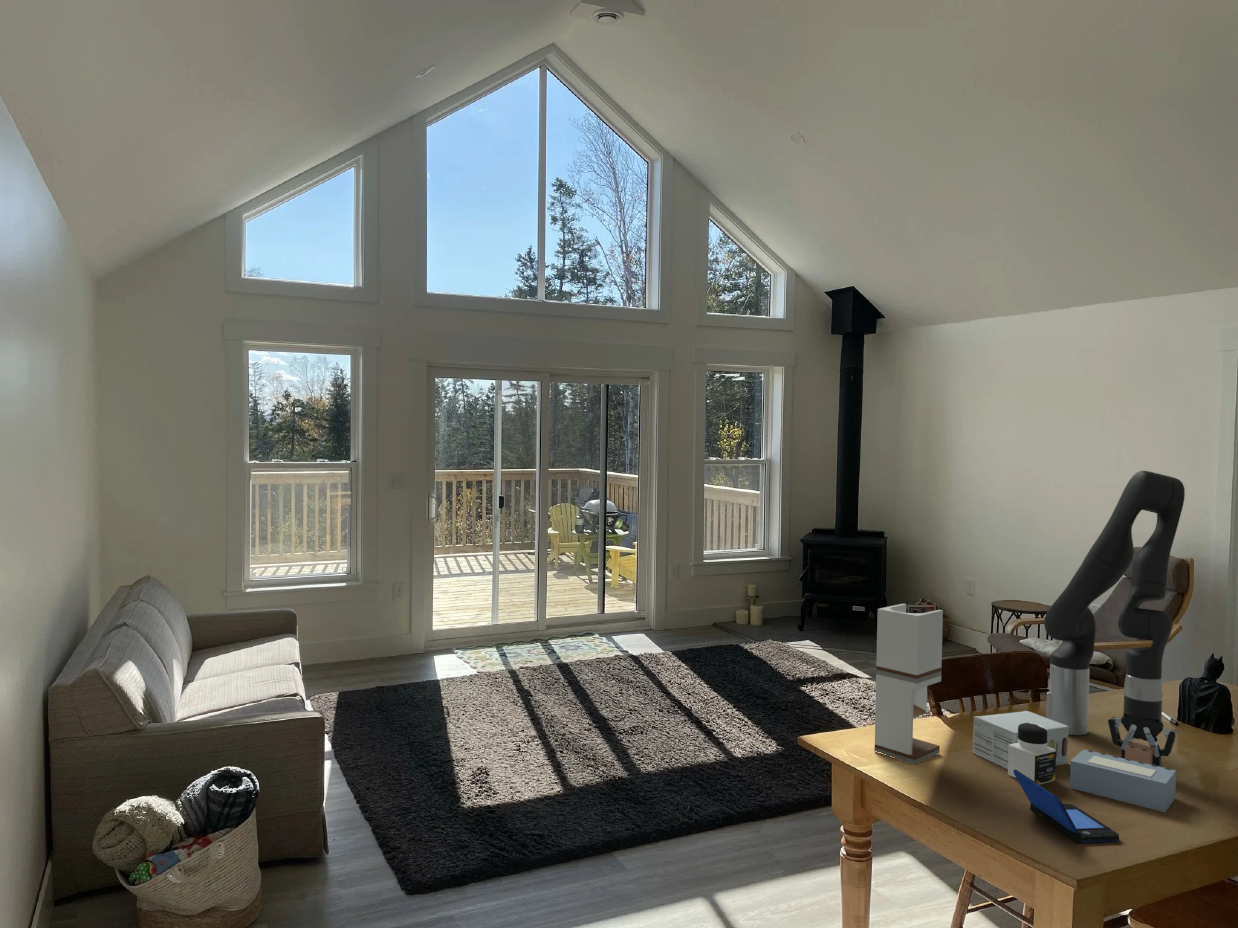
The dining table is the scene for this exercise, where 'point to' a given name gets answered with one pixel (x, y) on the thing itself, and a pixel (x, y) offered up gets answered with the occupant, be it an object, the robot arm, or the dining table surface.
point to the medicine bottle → (1032, 754)
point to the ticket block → (1123, 780)
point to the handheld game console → (1064, 814)
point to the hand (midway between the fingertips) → (1140, 767)
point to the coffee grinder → (905, 679)
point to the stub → (1139, 752)
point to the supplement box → (1014, 735)
